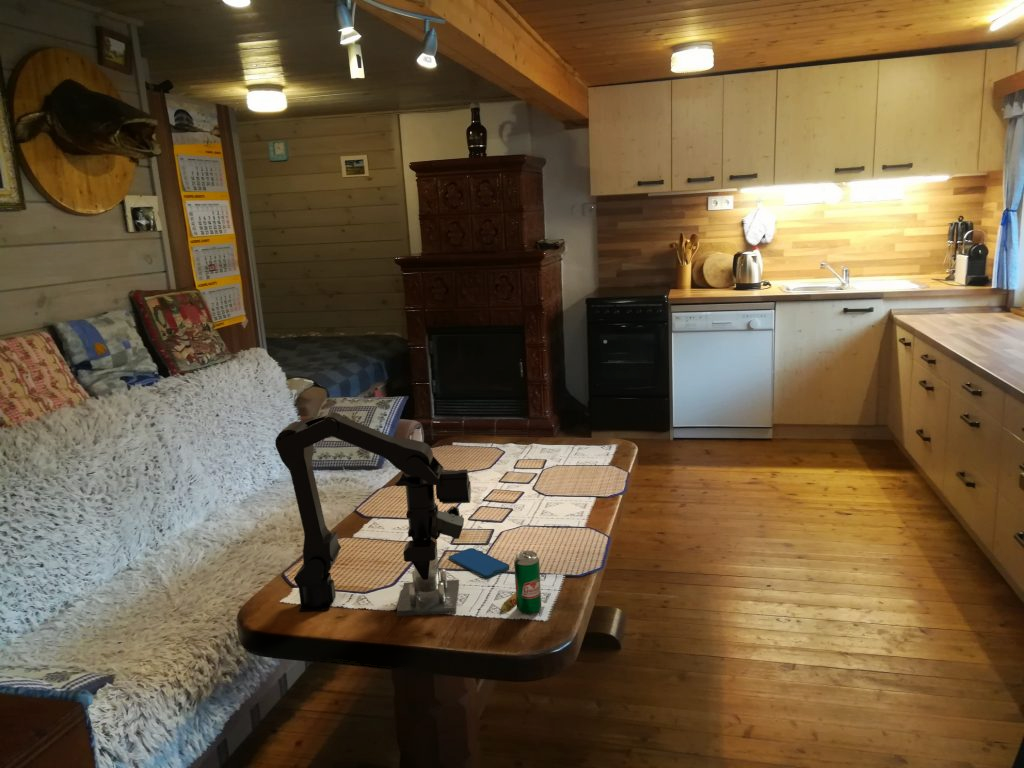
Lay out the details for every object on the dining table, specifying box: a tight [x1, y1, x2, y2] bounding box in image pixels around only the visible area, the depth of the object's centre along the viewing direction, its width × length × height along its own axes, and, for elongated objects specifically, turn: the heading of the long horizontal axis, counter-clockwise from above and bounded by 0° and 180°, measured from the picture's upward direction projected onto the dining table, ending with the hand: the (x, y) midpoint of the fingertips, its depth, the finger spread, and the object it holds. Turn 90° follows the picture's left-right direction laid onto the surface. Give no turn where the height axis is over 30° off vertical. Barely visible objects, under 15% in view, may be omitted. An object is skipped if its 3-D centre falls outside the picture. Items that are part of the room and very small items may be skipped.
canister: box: [413, 538, 441, 592], centre depth 160 cm, size 5×5×10 cm
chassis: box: [396, 568, 460, 617], centre depth 161 cm, size 12×12×5 cm
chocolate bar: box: [499, 592, 517, 613], centre depth 161 cm, size 3×12×2 cm, turn 149°
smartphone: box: [448, 547, 510, 579], centre depth 177 cm, size 7×1×15 cm
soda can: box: [513, 550, 542, 615], centre depth 154 cm, size 5×5×12 cm
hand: (426, 573), depth 160 cm, fingers closed on canister, 5 cm apart
